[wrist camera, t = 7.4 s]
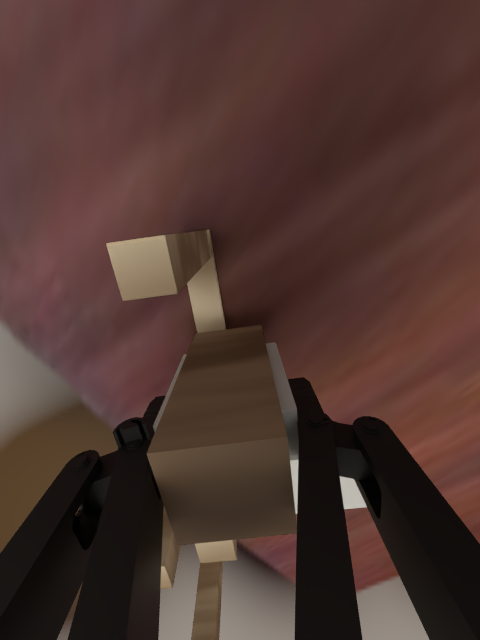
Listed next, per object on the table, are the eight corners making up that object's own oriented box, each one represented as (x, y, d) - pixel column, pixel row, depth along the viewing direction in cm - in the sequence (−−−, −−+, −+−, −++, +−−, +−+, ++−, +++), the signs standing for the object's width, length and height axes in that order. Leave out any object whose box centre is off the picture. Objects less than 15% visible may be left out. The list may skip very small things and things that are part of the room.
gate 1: (178, 233, 20) (100, 244, 9) (209, 229, 20) (170, 234, 9) (215, 415, 26) (196, 563, 14) (240, 412, 26) (240, 559, 14)
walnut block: (195, 333, 18) (146, 453, 8) (261, 324, 18) (287, 436, 8) (207, 389, 19) (177, 545, 10) (268, 382, 19) (297, 533, 10)
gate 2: (175, 419, 26) (125, 569, 15) (199, 417, 26) (168, 566, 15) (206, 534, 32) (187, 706, 20) (226, 532, 31) (218, 704, 20)
